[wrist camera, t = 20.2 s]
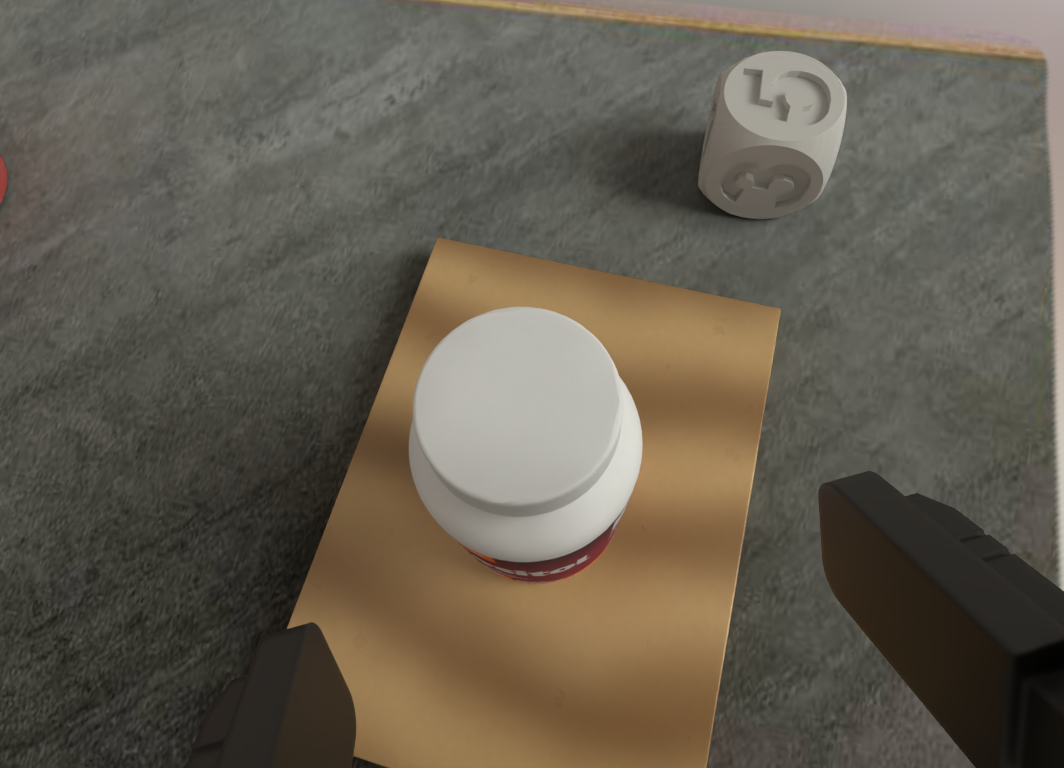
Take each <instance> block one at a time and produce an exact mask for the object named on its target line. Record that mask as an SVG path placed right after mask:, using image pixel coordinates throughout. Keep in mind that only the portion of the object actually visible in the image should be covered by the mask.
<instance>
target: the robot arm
mask: <svg viewBox="0 0 1064 768" xmlns="http://www.w3.org/2000/svg"><path fill="white" fill-rule="evenodd" d="M818 495H819V513H820V529H821V545H822V560H823V566H824V571H825V574H826V577H827V580H828V582H829V585H830V587H831V589H832V591H833V593H834V594H835V596H836V598H837V599H838V601H839V602H840V603H841V605H842V606H843V607H844V608H845V609H846V611H847V612H848V613H849V614H850V615H851V617H852V618H853V619H854V620H855V622H856V623H857V624H858V625H859V626H860V628H861V629H862V630H863V631H864V632H865V634H866V635H867V636H868V637H869V639H870V640H871V641H872V642H873V643H874V645H875V646H876V647H877V648H878V649H879V651H880V652H881V653H882V654H883V656H884V657H885V658H886V659H887V660H888V662H889V663H890V664H891V665H892V666H893V668H894V669H895V670H896V671H897V673H898V674H899V675H900V676H901V677H902V679H903V680H904V681H905V682H906V683H907V685H908V686H909V687H910V688H911V690H912V691H913V692H914V693H915V694H916V696H917V697H918V698H919V699H920V700H921V702H922V703H923V704H924V705H925V707H926V708H927V709H928V710H929V711H930V713H931V714H932V715H933V716H934V717H935V719H936V720H937V721H938V722H939V724H940V725H941V726H942V727H943V728H944V730H945V731H946V732H947V733H948V734H949V736H950V737H951V738H952V739H953V741H954V742H955V743H956V744H957V745H958V747H959V748H960V749H961V750H962V751H963V753H964V754H965V755H966V756H967V758H968V759H969V760H970V761H971V762H972V764H973V765H974V766H975V767H976V768H1064V591H1062V590H1061V589H1060V588H1059V587H1057V586H1056V585H1055V584H1053V583H1052V582H1051V581H1049V580H1048V579H1047V578H1045V577H1044V576H1043V575H1041V574H1040V573H1039V572H1037V571H1036V570H1035V569H1034V568H1032V567H1031V566H1030V565H1028V564H1027V563H1026V562H1024V561H1023V560H1022V559H1020V558H1019V557H1018V556H1016V555H1015V554H1012V555H1011V554H1010V553H1009V551H1008V549H1007V548H1006V547H1005V546H1003V545H1002V544H1001V543H999V542H998V541H997V540H995V539H994V538H993V537H991V536H990V535H987V536H986V535H985V534H984V530H982V529H981V528H980V527H978V526H977V525H976V524H974V523H973V522H972V521H970V520H969V519H968V518H967V517H965V516H964V515H963V514H961V513H960V512H959V511H957V510H956V509H955V508H952V507H950V506H947V505H945V504H942V503H940V502H937V501H935V500H932V499H930V498H928V497H925V496H923V495H920V494H918V493H916V494H912V495H909V496H904V495H903V494H901V493H900V492H899V491H898V490H897V489H895V488H894V487H893V486H892V485H890V484H889V483H888V482H887V481H885V480H884V479H883V478H882V477H881V476H879V475H878V474H876V473H874V472H872V471H867V472H863V473H860V474H856V475H852V476H849V477H845V478H841V479H838V480H834V481H831V482H827V483H823V484H822V485H821V486H820V488H819V494H818ZM355 740H356V714H355V708H354V703H353V699H352V696H351V693H350V690H349V688H348V686H347V684H346V682H345V680H344V678H343V675H342V673H341V671H340V669H339V667H338V665H337V663H336V660H335V658H334V656H333V654H332V652H331V650H330V648H329V646H328V643H327V641H326V639H325V637H324V635H323V633H322V631H321V629H320V628H319V626H318V625H317V624H316V623H314V622H311V623H307V624H303V625H300V626H296V627H292V628H289V629H285V630H281V631H278V632H274V633H271V634H267V635H264V636H263V637H261V639H260V640H259V642H258V644H257V647H256V650H255V653H254V656H253V659H252V662H251V665H250V667H249V670H248V673H247V676H246V677H243V678H239V679H236V680H232V681H231V682H230V684H229V685H228V686H227V688H226V689H225V690H224V691H223V693H222V694H221V695H220V697H219V698H218V699H217V701H216V702H215V703H214V705H213V706H212V707H211V709H210V710H209V711H208V712H207V714H206V716H205V719H204V721H203V724H202V727H201V729H200V732H199V734H198V737H197V739H196V742H195V744H194V747H193V751H194V754H193V755H191V756H190V757H189V760H188V762H187V765H186V768H352V762H353V755H354V747H355Z"/></svg>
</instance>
